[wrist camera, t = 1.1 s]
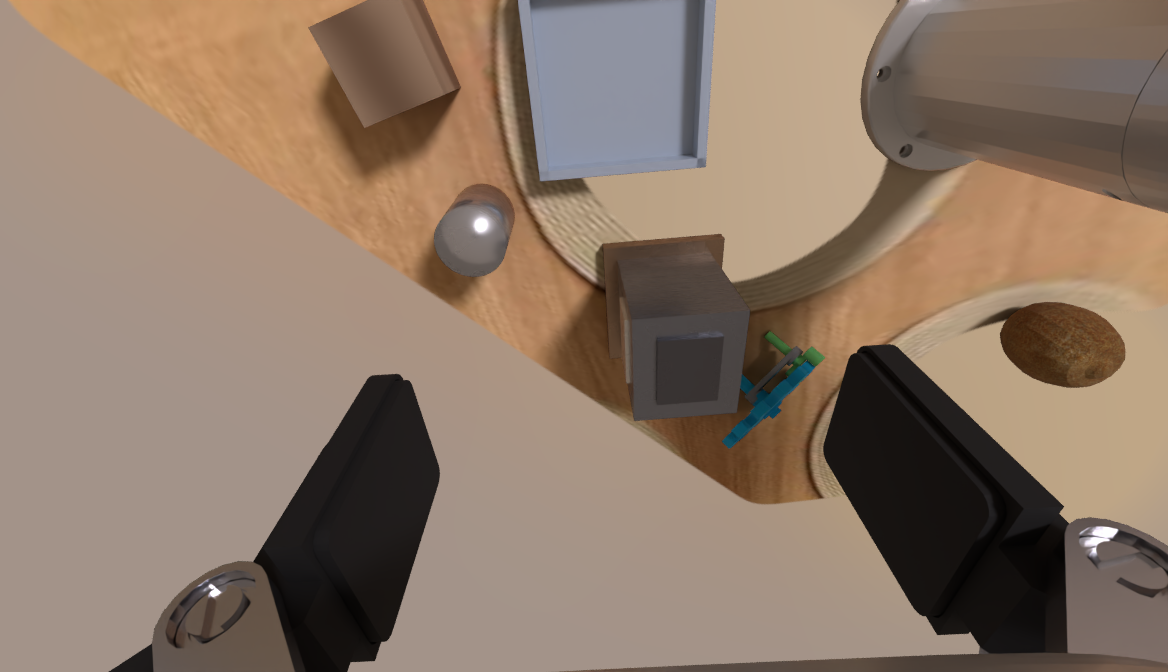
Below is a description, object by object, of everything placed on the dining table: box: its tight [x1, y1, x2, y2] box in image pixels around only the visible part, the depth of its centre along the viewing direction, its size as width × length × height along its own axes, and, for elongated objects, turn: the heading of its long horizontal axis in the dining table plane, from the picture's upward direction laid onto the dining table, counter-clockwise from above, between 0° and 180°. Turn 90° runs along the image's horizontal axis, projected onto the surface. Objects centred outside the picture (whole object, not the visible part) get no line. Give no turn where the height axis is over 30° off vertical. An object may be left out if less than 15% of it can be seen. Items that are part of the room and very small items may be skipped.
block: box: [308, 0, 461, 128], centre depth 27 cm, size 5×5×5 cm
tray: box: [518, 0, 716, 181], centre depth 29 cm, size 11×11×2 cm
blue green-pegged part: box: [722, 331, 825, 449], centre depth 40 cm, size 11×6×10 cm
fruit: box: [1000, 302, 1125, 388], centre depth 37 cm, size 6×6×8 cm
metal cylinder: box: [434, 184, 515, 277], centre depth 32 cm, size 4×4×6 cm
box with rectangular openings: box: [603, 234, 750, 421], centre depth 34 cm, size 9×10×10 cm
